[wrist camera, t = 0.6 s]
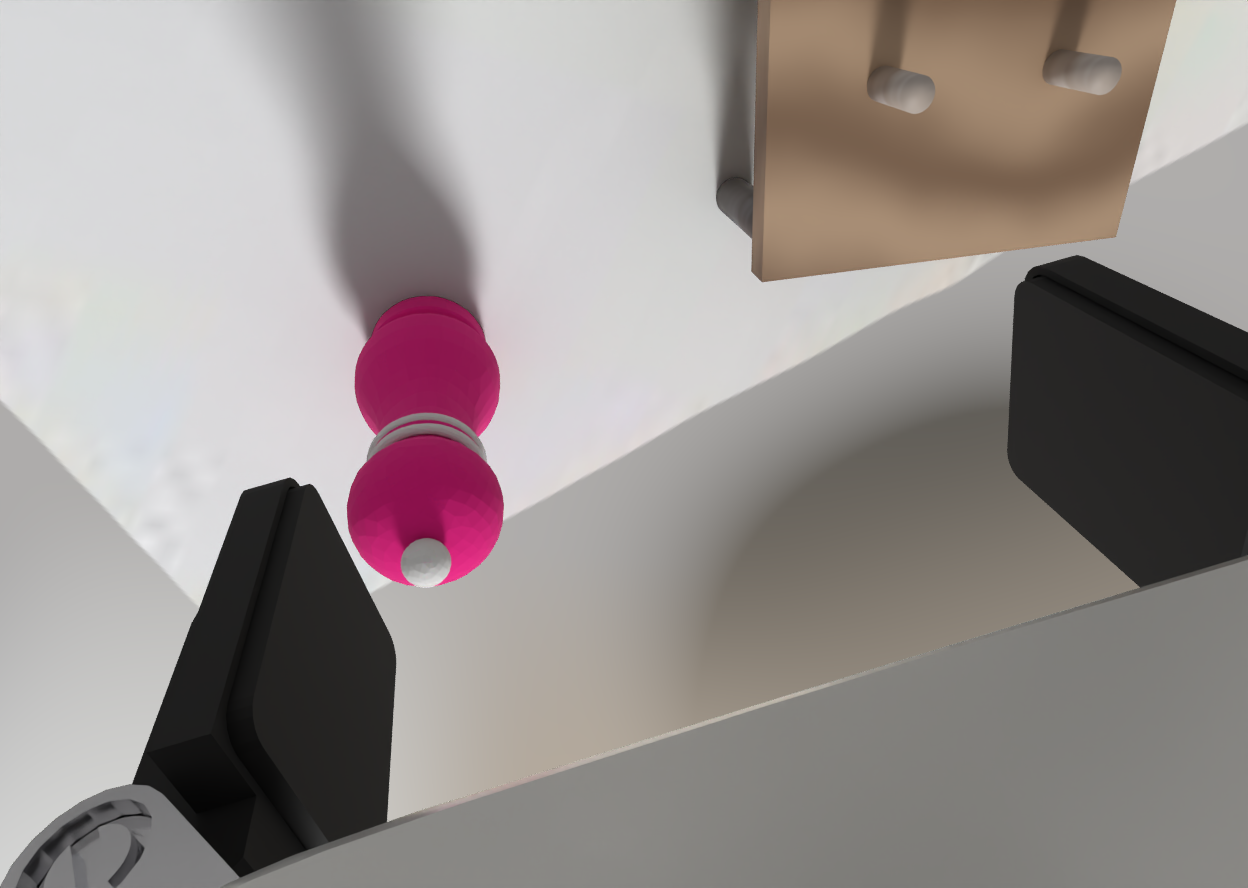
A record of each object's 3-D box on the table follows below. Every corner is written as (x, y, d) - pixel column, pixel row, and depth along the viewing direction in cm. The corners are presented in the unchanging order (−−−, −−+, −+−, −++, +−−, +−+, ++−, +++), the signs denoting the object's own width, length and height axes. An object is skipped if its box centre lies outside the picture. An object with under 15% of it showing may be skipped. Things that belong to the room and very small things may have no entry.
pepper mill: (421, 428, 48) (413, 684, 32) (332, 338, 45) (269, 573, 28) (520, 358, 47) (568, 583, 30) (438, 259, 44) (439, 453, 27)
